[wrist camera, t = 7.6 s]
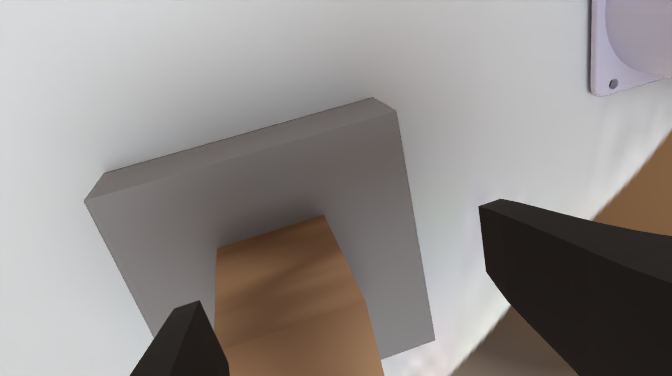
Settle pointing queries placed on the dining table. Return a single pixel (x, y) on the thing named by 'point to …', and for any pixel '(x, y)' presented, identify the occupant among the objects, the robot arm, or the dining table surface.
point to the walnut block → (292, 306)
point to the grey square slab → (273, 214)
